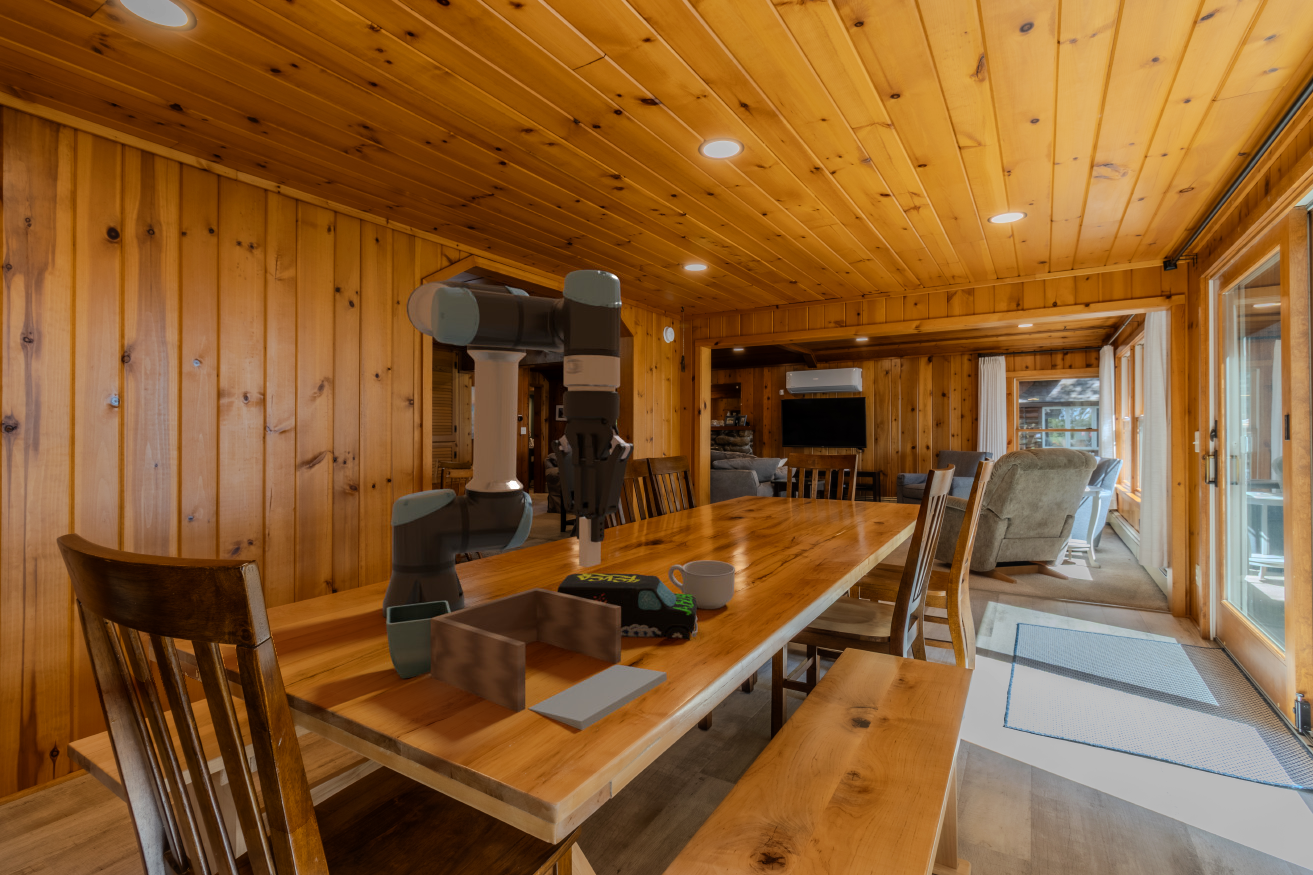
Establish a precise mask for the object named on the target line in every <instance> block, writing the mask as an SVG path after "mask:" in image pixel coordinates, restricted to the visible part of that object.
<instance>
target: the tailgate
mask: <svg viewBox="0 0 1313 875" xmlns="http://www.w3.org/2000/svg"><path fill="white" fill-rule="evenodd" d="M667 680H668V676H667V672H665V671H659V670H658V671H657V670H652V669H647V668H642V667H641V668H640V667H634V666H627V665H621V664H618V663H617V664H615V665H614V664H613V665H612V666H610V667H609V668H607V669H605V670H603V671H601V672H599V673H596V674H594V675H593V676H590V677H588V678H587V679H585V680H582V681H580V682H579V683H576V684H574V685H572V686H571V687H568V688H566V689H564V690H562V691H560V692H558V693H557V694H555V695H552V696H550V697H548V698H546V699H544V700H542V701H540V702H539V703H536V704H535V705H532V706H530V707H529V708H528V707H527V709H528V710H530V711H533V712H535V713H537V714H540V715H543V716H545V717H547V718H550V719H553V720H555V721H558V722H560V723H563V724H564V725H565V724H566V725H568V726H571V727H573V728H574V729H577V730H580V731H583V730H586V729H587V728H588V727H591V726H592V725H593V724H595V723H598V722H599V721H601V720H602V719H604V718H605V717H607V716H608V715H610V714H612V713H614V712H615V711H617V710H618V709H621V708H622V707H624V706H625V705H627V704H629V703H631V702H632V701H635V700H636V699H637V698H639V697H641V696H642V695H644V694H646V693H647V692H650V691H651V690H653V689H654V688H655V687H656V688H657V687H658V686H660V685H661V684H663V683H665V682H666V681H667Z"/></svg>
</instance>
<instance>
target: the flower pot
mask: <svg viewBox="0 0 1313 875" xmlns="http://www.w3.org/2000/svg"><path fill="white" fill-rule="evenodd" d="M386 610H387V618H386V621H385V623H386V624H385V627H386V636H387V642H388V643H387V644H388V650H389V656H390V659H391V663H392V665H393V667H394V669H395V671H396V672H397V674H398V675H399V677H400V678H401V679H409V678H414V677H415V678H416V677H418V676H421V675H423V674H426V673H429V672H431V618H433V617H437V616H440V615H444V614H447V613H451V611H450V608H449V604H448V602H447V601H436V602H428V603H420V604H411V605H403V606H394V607H388V608H387V609H386Z"/></svg>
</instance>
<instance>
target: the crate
mask: <svg viewBox="0 0 1313 875" xmlns="http://www.w3.org/2000/svg"><path fill="white" fill-rule="evenodd" d="M536 641H538V642H541V643H545V644H548V645H550V646H554V647H557V648H561V649H564V650H568V651H571V652H574V653H578V654H581V655H584V656H588V657H591V658H594V659H598V660H602V661H604V662H608V663H612V664H613V665H614V664H615V665H616V664H617V665H618V663H620V662H621V661H622V637H621V606H616V605H612V604H607V603H603V602H599V601H594V600H590V599H585V598H581V597H576V596H572V595H568V594H563V593H559V592H557V591H553V590H549V589H544V588H540V587H534V588H530V589H527V590H524V591H521V592H517V593H514V594H510V595H507V596H503V597H500V598H496V599H492V600H490V601H486V602H482V603H479V604H475V605H472V606H469V607H466V608H465V607H464V608H463V609H461V610H458V611H454V612H451V613H447V614H444V615H440V616H437V617H433V618H431V671H430V677H431V678H432V679H433V678H434V679H436V680H438V681H440V682H443V683H445V684H448V685H450V686H453V687H456V688H457V689H460V690H462V691H464V692H467V693H469V694H472V695H474V696H477V697H479V698H482V699H483V700H487V701H488V702H490V703H491V702H492V703H494V704H496V705H499V706H502V707H504V708H506V709H508V710H511V711H514V712H516V713H520V712H522V711H524V710H526V645H529V644H532V643H533V642H536Z"/></svg>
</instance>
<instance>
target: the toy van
mask: <svg viewBox="0 0 1313 875" xmlns="http://www.w3.org/2000/svg"><path fill="white" fill-rule="evenodd" d="M556 592H559V593H563V594H568V595H572V596H576V597H581V598H585V599H590V600H594V601H599V602H603V603H607V604H612V605H616V606H621V638H623V637H626V638H627V637H632V638H633V637H634V638H635V637H637V638H639V637H640V638H664V637H665V638H666V639H667V638H668V639H670V638H678V639H683V640H687V641H690V639H691V638H690V634H691V637H692V638H695V637H697V633H698V623H697V621H698V617H697V611H698V610H697V608H698V607H697V603H696V598H695V597H693V596H692V595H691V594H684V593H676V592H672V590H670V589H669V588H668V586H666V585H665V584H664V582H662V580H661V579H660V578H659V577H658V576H657V575H645V574H638V573H572V574H569V575H566V576H565V578H564V579H563V580H562V581H561V583H560V584H559V585H558V587H557V591H556Z"/></svg>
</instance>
